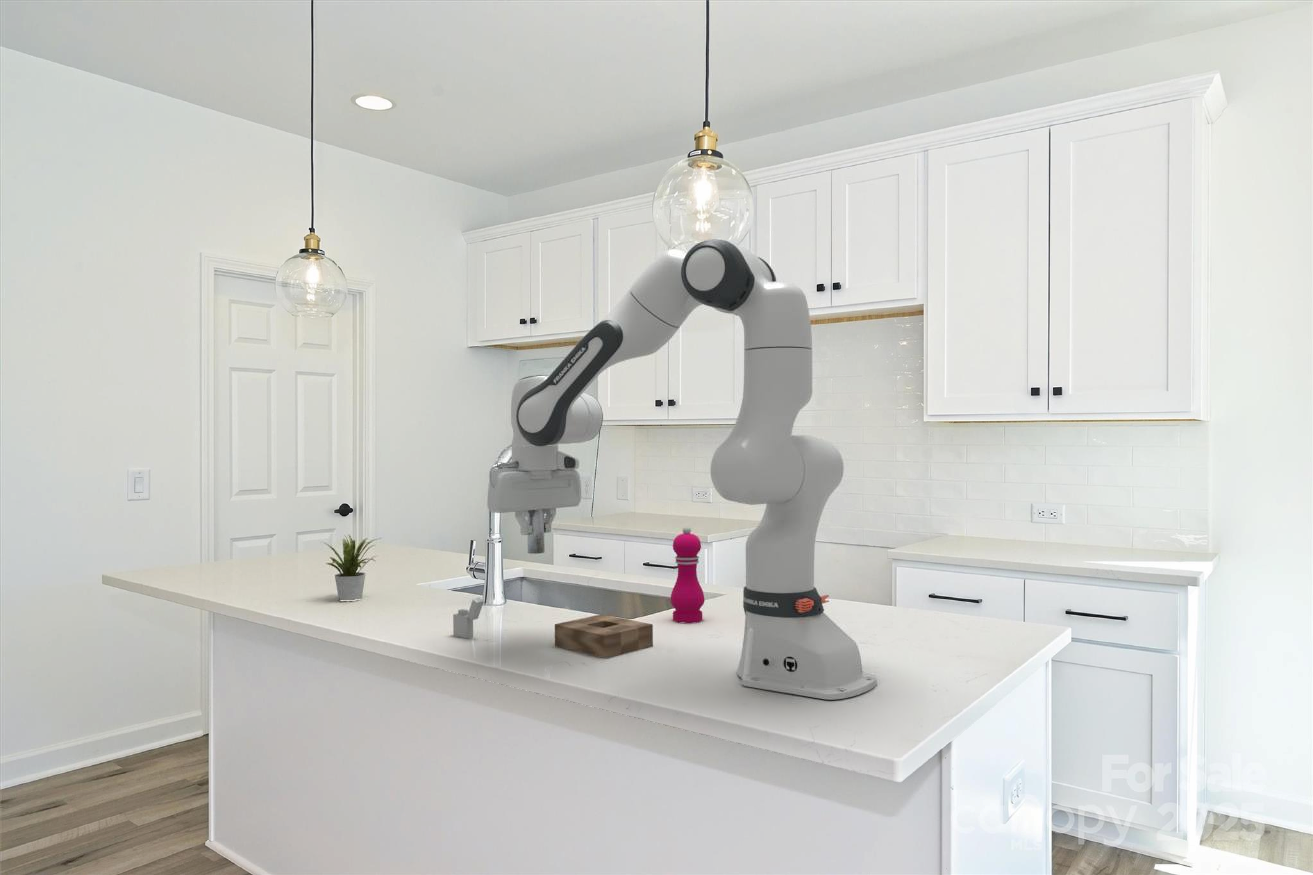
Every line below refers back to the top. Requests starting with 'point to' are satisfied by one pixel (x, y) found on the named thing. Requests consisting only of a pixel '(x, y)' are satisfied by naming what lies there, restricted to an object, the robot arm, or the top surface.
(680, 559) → the pepper mill
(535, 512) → the steel peg
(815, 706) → the top surface
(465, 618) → the lighter
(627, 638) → the walnut hole block
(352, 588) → the house plant
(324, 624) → the top surface
